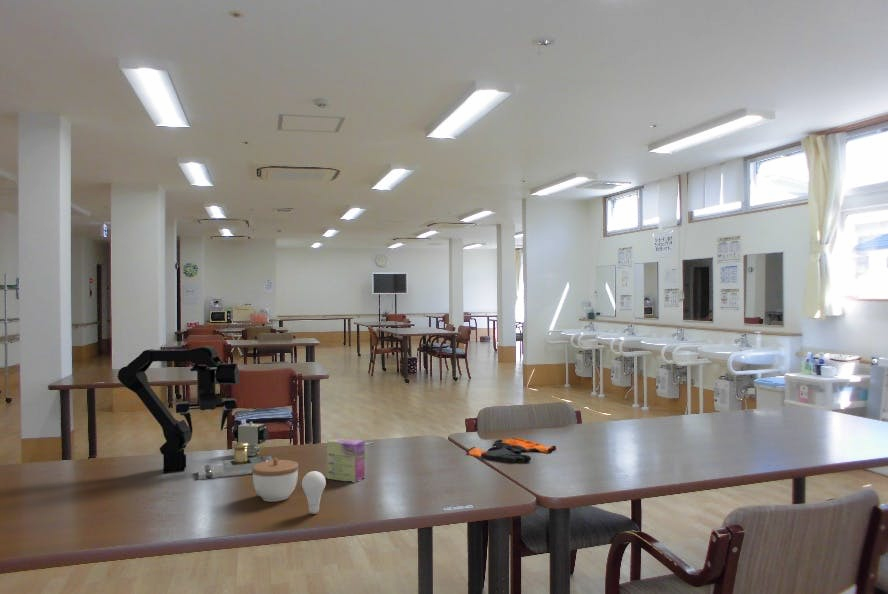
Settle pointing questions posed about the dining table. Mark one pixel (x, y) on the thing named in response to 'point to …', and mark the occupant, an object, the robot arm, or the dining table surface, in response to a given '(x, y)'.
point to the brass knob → (240, 452)
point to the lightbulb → (313, 489)
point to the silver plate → (230, 468)
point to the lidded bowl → (275, 479)
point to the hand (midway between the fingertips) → (206, 431)
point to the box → (345, 459)
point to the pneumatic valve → (251, 436)
